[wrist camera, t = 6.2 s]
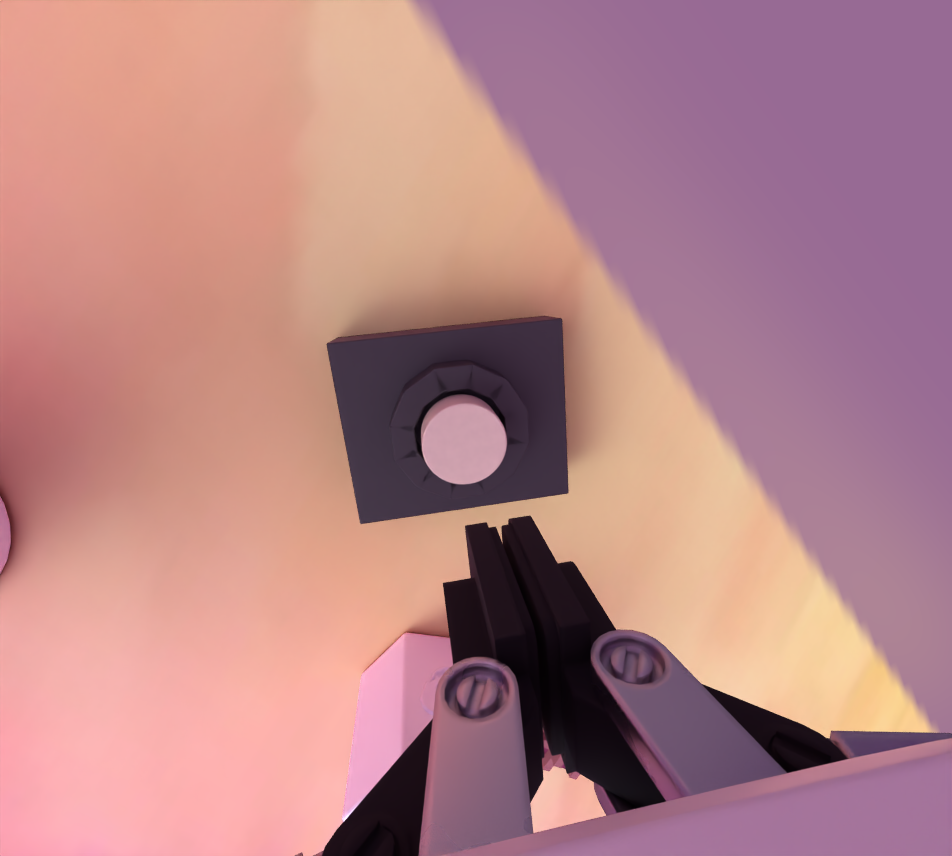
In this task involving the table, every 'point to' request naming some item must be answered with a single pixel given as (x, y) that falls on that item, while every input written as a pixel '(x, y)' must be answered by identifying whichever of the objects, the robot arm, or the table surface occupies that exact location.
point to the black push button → (441, 375)
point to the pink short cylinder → (462, 439)
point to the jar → (393, 708)
